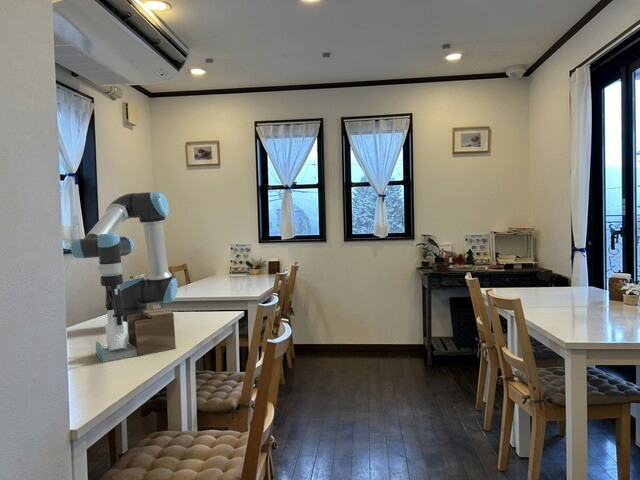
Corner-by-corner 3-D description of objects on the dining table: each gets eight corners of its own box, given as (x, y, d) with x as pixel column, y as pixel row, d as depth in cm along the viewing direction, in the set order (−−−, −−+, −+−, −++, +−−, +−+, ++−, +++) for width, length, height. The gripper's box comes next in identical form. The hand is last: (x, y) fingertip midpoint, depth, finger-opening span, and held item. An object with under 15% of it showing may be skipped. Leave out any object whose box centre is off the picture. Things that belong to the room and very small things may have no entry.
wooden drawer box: (129, 348, 182) (126, 312, 181) (164, 341, 190) (162, 307, 189) (138, 356, 169) (135, 318, 169) (175, 348, 177) (173, 312, 177)
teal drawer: (96, 354, 175) (95, 341, 174) (133, 347, 182) (132, 335, 182) (103, 363, 163) (102, 349, 163) (141, 355, 171) (141, 342, 170)
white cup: (120, 347, 166) (118, 320, 169) (101, 352, 167) (100, 325, 170) (134, 348, 173) (131, 322, 176) (116, 353, 175) (114, 327, 178)
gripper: (94, 272, 179) (99, 325, 180) (106, 279, 158) (111, 338, 160) (115, 270, 183) (119, 322, 185) (129, 276, 163) (134, 334, 164)
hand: (115, 330), depth 172 cm, fingers open, 13 cm apart
